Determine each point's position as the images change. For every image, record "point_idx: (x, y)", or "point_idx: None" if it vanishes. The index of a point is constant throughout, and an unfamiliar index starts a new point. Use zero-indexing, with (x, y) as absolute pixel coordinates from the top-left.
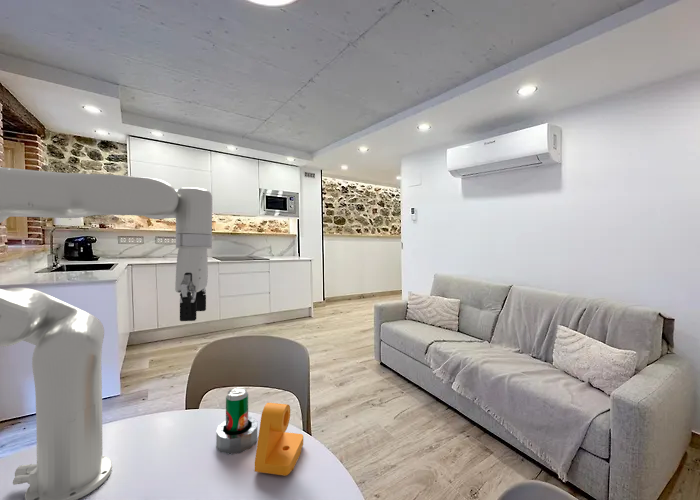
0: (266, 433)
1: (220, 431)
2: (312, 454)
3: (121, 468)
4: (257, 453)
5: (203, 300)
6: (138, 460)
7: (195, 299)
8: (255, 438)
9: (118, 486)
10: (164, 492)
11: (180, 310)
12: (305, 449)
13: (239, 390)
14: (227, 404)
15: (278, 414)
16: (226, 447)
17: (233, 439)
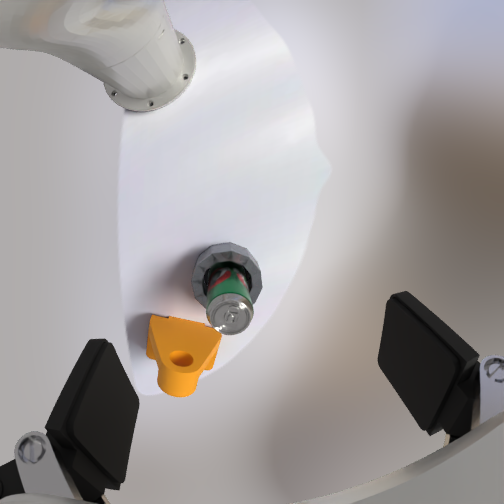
0: (155, 354)
1: (214, 259)
2: None
3: (171, 115)
4: (151, 329)
5: (409, 403)
6: (188, 131)
7: (430, 368)
8: None
9: (134, 136)
10: (121, 207)
11: (67, 387)
12: None
13: (237, 320)
14: (212, 294)
15: (161, 384)
16: (194, 269)
17: (192, 285)
